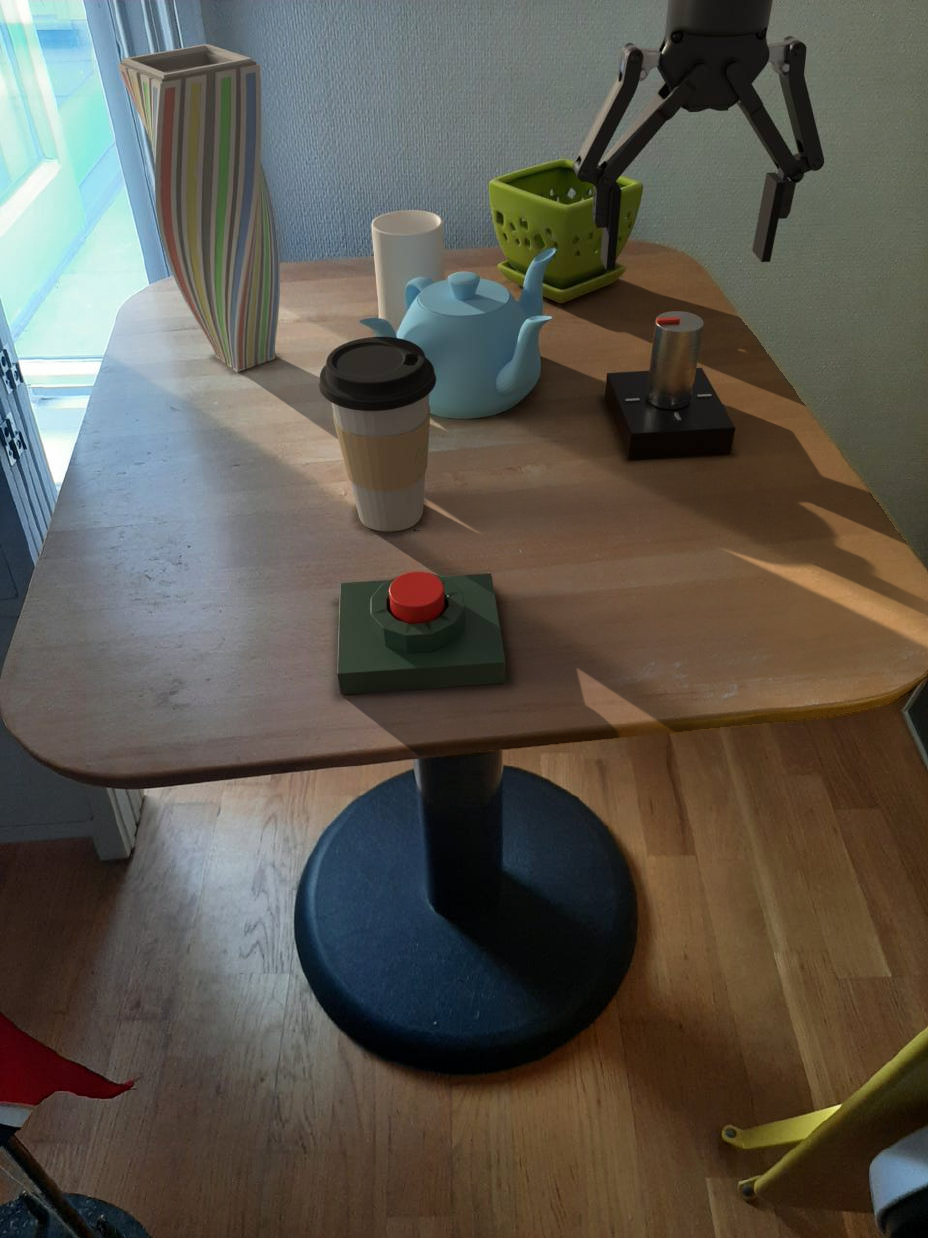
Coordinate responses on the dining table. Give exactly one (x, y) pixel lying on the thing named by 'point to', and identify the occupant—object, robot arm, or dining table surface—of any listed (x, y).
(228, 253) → the vase
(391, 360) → the coffee cup
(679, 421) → the panel
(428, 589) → the button
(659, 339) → the stove knob
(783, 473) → the dining table surface
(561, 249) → the flower pot
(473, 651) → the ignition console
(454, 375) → the teapot
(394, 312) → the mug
